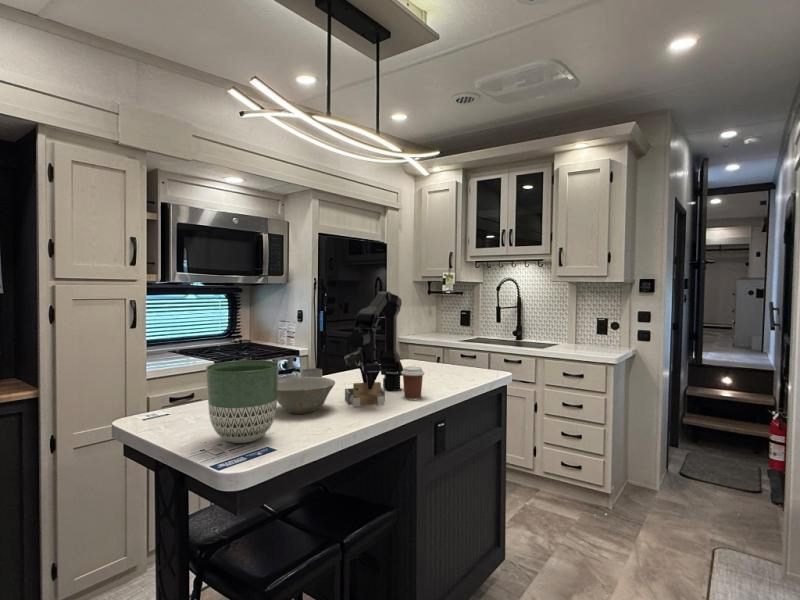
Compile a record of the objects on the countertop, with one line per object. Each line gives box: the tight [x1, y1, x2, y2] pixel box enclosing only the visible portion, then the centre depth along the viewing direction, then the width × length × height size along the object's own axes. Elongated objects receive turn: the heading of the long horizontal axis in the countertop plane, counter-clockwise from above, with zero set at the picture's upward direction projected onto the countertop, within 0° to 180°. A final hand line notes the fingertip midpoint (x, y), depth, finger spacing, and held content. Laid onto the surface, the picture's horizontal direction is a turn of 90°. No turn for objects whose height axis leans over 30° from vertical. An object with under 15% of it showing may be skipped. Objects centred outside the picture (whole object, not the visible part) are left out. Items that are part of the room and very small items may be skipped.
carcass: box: [344, 387, 386, 408], centre depth 178 cm, size 14×12×4 cm
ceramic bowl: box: [277, 376, 336, 415], centre depth 165 cm, size 22×23×10 cm
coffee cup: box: [401, 365, 425, 401], centre depth 184 cm, size 9×9×12 cm
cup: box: [300, 367, 323, 378], centre depth 189 cm, size 8×8×10 cm
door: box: [352, 381, 382, 407], centre depth 174 cm, size 10×3×8 cm, turn 105°
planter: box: [205, 359, 280, 444], centre depth 133 cm, size 20×20×21 cm
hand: (367, 386), depth 174 cm, fingers open, 9 cm apart
